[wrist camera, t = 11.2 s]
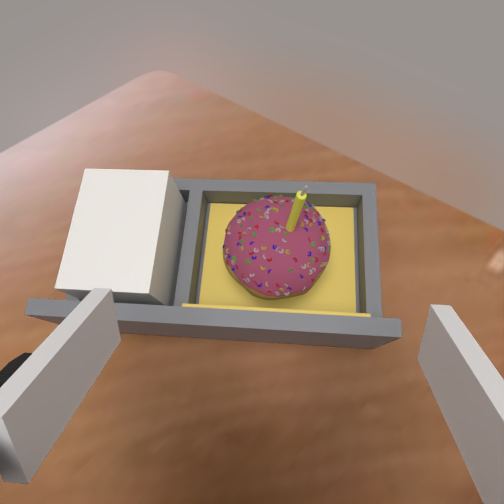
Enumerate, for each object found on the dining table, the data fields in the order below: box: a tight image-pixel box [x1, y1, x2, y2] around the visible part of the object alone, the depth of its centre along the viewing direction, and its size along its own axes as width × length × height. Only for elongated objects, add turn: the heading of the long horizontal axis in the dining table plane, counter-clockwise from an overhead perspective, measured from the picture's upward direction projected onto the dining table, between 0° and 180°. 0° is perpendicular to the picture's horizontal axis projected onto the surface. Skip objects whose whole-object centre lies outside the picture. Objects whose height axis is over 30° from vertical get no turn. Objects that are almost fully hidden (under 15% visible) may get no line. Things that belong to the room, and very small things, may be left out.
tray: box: [24, 178, 402, 349], centre depth 31 cm, size 26×14×8 cm, turn 86°
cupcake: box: [223, 185, 331, 300], centre depth 28 cm, size 9×8×12 cm
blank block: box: [55, 169, 187, 306], centre depth 31 cm, size 7×10×7 cm
